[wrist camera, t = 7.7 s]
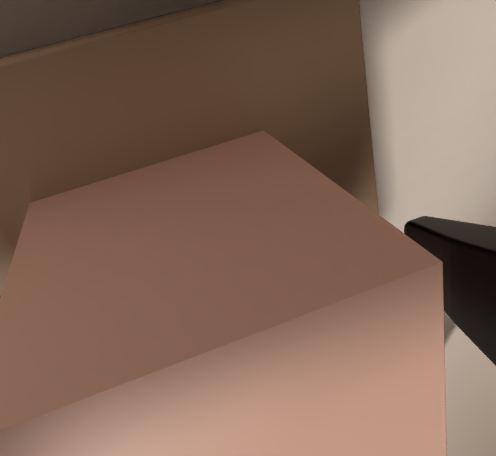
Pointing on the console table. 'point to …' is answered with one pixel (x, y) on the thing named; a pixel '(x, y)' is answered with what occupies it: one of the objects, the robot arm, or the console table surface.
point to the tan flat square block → (184, 99)
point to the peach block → (220, 317)
